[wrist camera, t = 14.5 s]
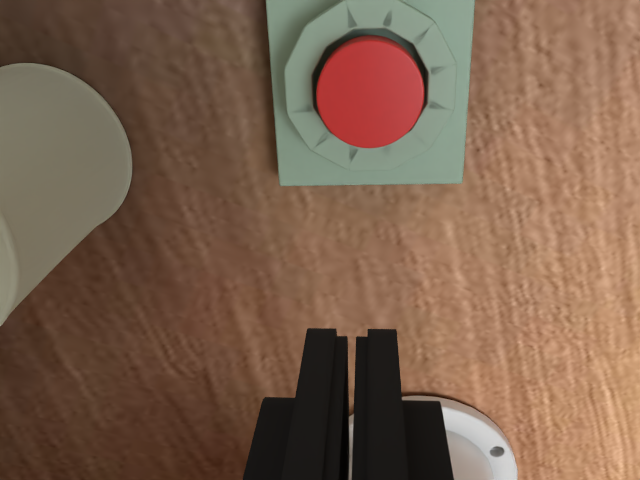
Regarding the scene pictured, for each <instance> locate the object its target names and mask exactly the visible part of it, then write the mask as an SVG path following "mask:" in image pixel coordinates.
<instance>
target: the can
mask: <svg viewBox="0 0 640 480" xmlns="http://www.w3.org/2000/svg"><path fill="white" fill-rule="evenodd" d="M131 177H132V155H131V149H130V144H129V141H128V138H127V135H126V132H125V130H124V128H123V126H122V124H121V122H120V120H119V118H118V117H117V115H116V114H115V112H114V111H113V109H112V108H111V107H110V105H109V104H108V103H107V102H106V101H105V100H104V98H103V97H102V96H101V95H100V94H99V93H97V92H96V91H95V90H94V89H93V88H92V87H90V86H89V85H88V84H86V83H85V82H84V81H82V80H81V79H79V78H77V77H76V76H74V75H72V74H70V73H68V72H66V71H63V70H61V69H58V68H55V67H52V66H48V65H42V64H36V63H18V64H11V65H7V66H3V67H0V326H1V325H2V324H3V323H4V322H5V320H6V319H7V317H8V316H9V314H10V313H11V312H12V311H13V310H14V309H15V308H16V307H17V306H18V304H19V303H20V302H21V301H22V300H23V299H24V298H25V297H26V296H27V295H28V294H29V293H30V292H31V291H32V290H33V289H34V288H35V287H36V286H37V285H38V284H39V283H40V282H41V281H42V280H43V279H44V278H45V277H46V276H47V274H48V273H49V272H50V271H51V270H52V269H53V268H54V267H55V266H56V265H57V264H58V263H59V262H60V261H61V260H62V259H63V258H64V257H65V256H66V255H67V254H68V253H69V252H70V251H71V250H72V249H73V248H74V247H75V246H76V245H78V244H79V243H80V242H81V241H82V240H83V239H84V238H85V237H86V236H87V235H88V234H89V233H90V232H91V231H92V230H93V229H94V228H95V227H96V226H98V225H99V224H101V223H103V222H104V221H106V220H107V219H108V218H110V217H111V216H112V215H113V214H114V213H115V212H116V211H117V210H118V208H119V207H120V205H121V204H122V203H123V201H124V199H125V197H126V195H127V192H128V190H129V187H130V183H131Z"/></svg>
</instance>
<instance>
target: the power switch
mask: <svg viewBox="0 0 640 480" xmlns="http://www.w3.org/2000/svg"><path fill="white" fill-rule="evenodd" d="M474 7H475V0H266V11H267V25H268V38H269V52H270V65H271V79H272V92H273V106H274V119H275V133H276V146H277V160H278V173H279V185H280V186H319V185H392V184H461V183H462V182H463V170H464V155H465V141H466V126H467V111H468V96H469V81H470V66H471V52H472V37H473V22H474ZM365 35H378V36H383V37H387V38H390V39H392V40H394V41H396V42H397V43H399V44H400V45H402V46H403V47H404V48H405V49H406V50H407V51H408V52H409V53H410V54H411V56H412V57H413V59H414V60H415V62H416V64H417V66H418V68H419V71H420V73H421V76H422V79H423V84H424V102H423V107H422V110H421V113H420V115H419V117H418V119H417V121H416V123H415V124H414V126H413V127H412V128H411V129H410V130H409V131H408V133H406V134H405V135H404V136H403V137H402V138H400V139H399V140H397V141H395V142H393V143H391V144H389V145H386V146H383V147H378V148H360V147H355V146H352V145H349V144H347V143H345V142H343V141H342V140H340V139H338V138H337V137H336V136H335V135H333V134H332V133H331V132H330V130H329V129H328V128H327V127H326V125H325V124H324V122H323V120H322V118H321V116H320V113H319V111H318V107H317V100H316V90H317V83H318V80H319V76H320V74H321V71H322V69H323V67H324V64H325V62H326V61H327V59H328V58H329V56H330V55H331V54H332V52H333V51H334V50H335V49H337V48H338V47H339V46H340V45H342V44H343V43H345V42H346V41H348V40H350V39H353V38H355V37H359V36H365Z"/></svg>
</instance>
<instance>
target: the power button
mask: <svg viewBox="0 0 640 480" xmlns="http://www.w3.org/2000/svg"><path fill="white" fill-rule="evenodd" d="M316 100H317V107H318V111H319V113H320V116H321V118H322V120H323V122H324V124H325V125H326V127H327V128H328V129H329V130H330V132H331V133H332V134H333V135H335V136H336V137H337V138H338V139H340V140H342V141H343V142H345V143H347V144H349V145H352V146H355V147H360V148H378V147H383V146H386V145H389V144H391V143H393V142H395V141H397V140H399V139H400V138H402V137H403V136H404V135H405V134H406V133H408V131H409V130H410V129H411V128H412V127H413V126H414V124H415V123H416V121H417V119H418V117H419V115H420V113H421V110H422V107H423V102H424V84H423V79H422V76H421V73H420V71H419V68H418V66H417V64H416V62H415V60H414V59H413V57H412V56H411V54H410V53H409V52H408V51H407V50H406V49H405V48H404V47H403V46H402V45H400V44H399V43H397V42H396V41H394V40H392V39H390V38H387V37H383V36H378V35H365V36H359V37H355V38H353V39H350V40H348V41H346V42H345V43H343V44H342V45H340V46H339V47H338V48H337V49H335V50H334V51H333V52H332V54H331V55H330V56H329V58H328V59H327V61H326V62H325V64H324V67H323V69H322V71H321V74H320V76H319V80H318V83H317V90H316Z"/></svg>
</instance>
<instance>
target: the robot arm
mask: <svg viewBox="0 0 640 480" xmlns="http://www.w3.org/2000/svg"><path fill="white" fill-rule="evenodd" d="M243 480H518V469H517V465H516V461H515V457H514V453H513V451H512V448H511V446H510V444H509V441H508V439H507V438H506V436H505V435H504V434H503V432H502V431H501V429H500V428H499V427H498V426H497V425H496V424H495V423H494V422H492V421H491V420H490V419H489V418H488V417H487V416H485V415H484V414H482V413H480V412H479V411H477V410H475V409H474V408H472V407H470V406H467V405H464V404H462V403H459V402H456V401H454V400H449V399H444V398H439V397H434V396H405V397H402V393H401V381H400V368H399V355H398V343H397V331H396V329H368V337H356V360H355V390H354V414H352V415H351V416H349V393H348V341H347V336H337V332H336V329H317V328H308V329H307V333H306V339H305V345H304V350H303V356H302V362H301V368H300V374H299V379H298V385H297V391H296V397H295V398H277V397H265V398H264V399H263V401H262V404H261V408H260V412H259V416H258V420H257V424H256V428H255V432H254V436H253V440H252V444H251V448H250V452H249V456H248V460H247V464H246V468H245V472H244V476H243Z"/></svg>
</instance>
